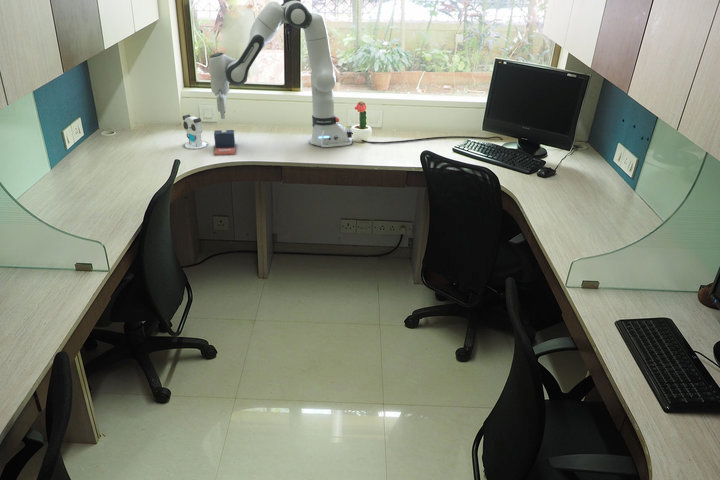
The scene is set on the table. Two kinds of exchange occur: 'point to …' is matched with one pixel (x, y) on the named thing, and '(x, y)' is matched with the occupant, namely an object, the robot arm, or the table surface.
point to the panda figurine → (193, 132)
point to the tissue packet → (224, 151)
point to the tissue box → (224, 138)
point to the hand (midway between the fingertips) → (223, 115)
